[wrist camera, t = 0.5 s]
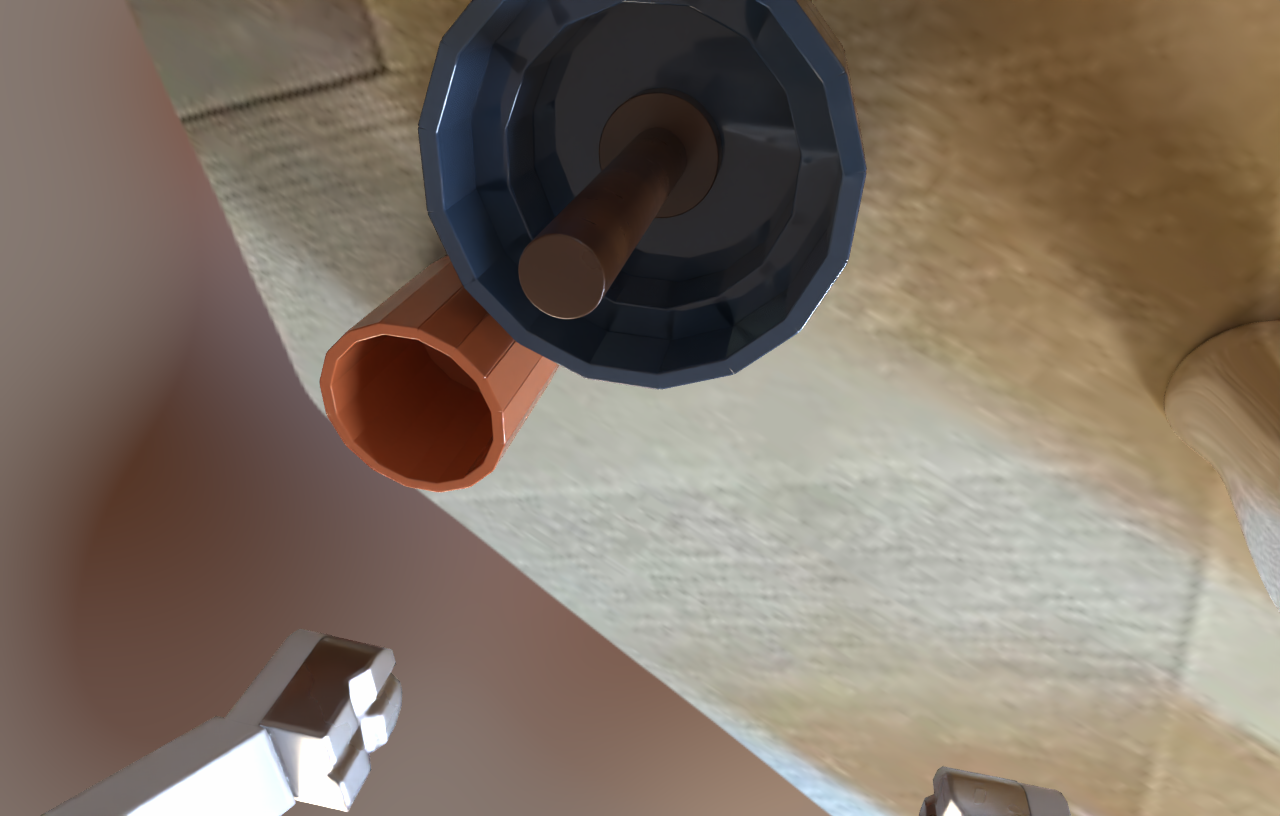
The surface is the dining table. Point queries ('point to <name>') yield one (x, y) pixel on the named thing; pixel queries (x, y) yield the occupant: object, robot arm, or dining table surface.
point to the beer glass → (1237, 429)
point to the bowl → (671, 247)
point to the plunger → (623, 199)
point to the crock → (431, 385)
